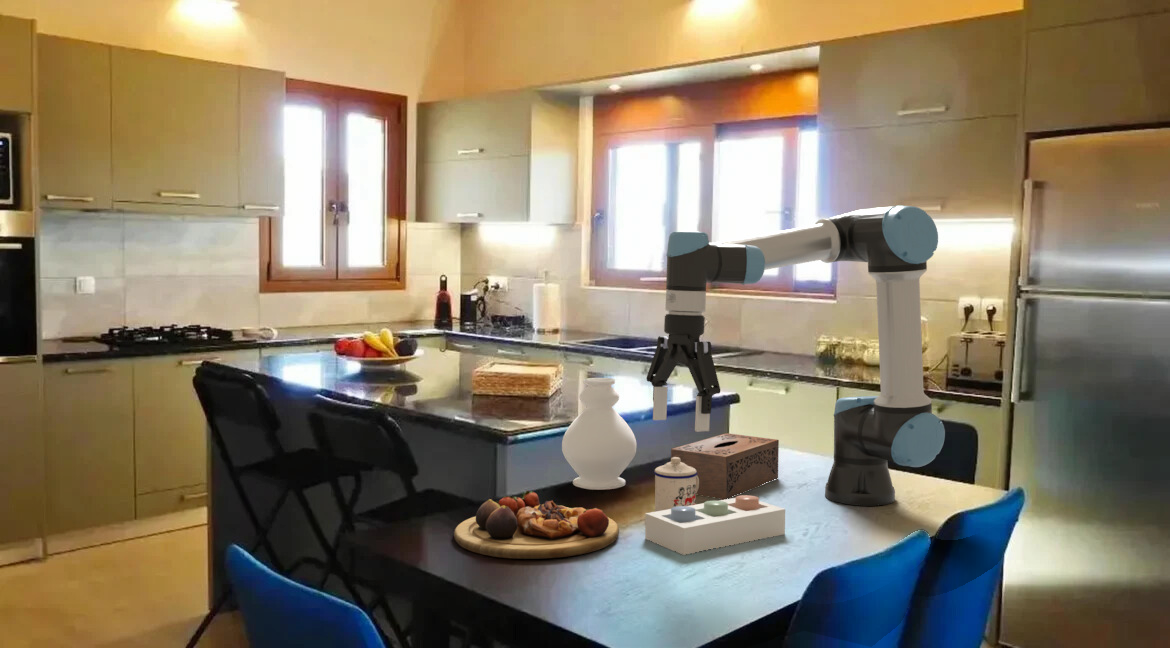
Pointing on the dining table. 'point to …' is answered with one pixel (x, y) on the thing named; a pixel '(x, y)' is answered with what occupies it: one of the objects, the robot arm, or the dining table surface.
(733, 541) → the tray
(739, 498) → the button terracotta
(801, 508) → the dining table surface
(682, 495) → the teacup with lid
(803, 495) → the dining table surface
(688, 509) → the button slate
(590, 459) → the decorative vase
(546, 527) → the wooden plate with food
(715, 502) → the button sage
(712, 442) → the tissue box cover
